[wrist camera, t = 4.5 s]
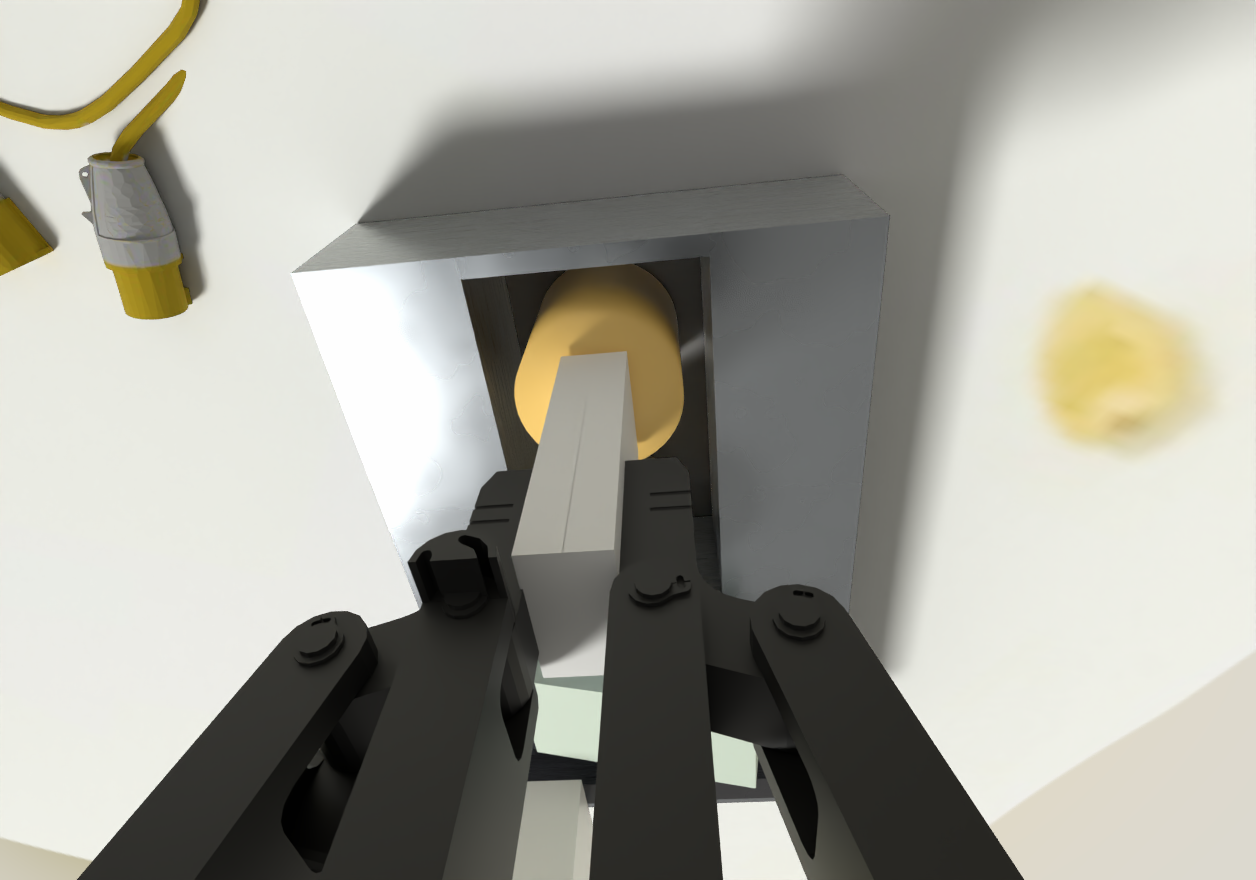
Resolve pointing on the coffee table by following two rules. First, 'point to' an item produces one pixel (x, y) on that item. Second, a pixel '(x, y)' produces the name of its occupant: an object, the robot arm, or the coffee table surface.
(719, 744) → the panel
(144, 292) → the extension cord
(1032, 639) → the coffee table surface
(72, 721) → the coffee table surface
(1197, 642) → the coffee table surface
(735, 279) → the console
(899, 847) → the robot arm
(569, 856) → the fader knob
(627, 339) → the amber button
